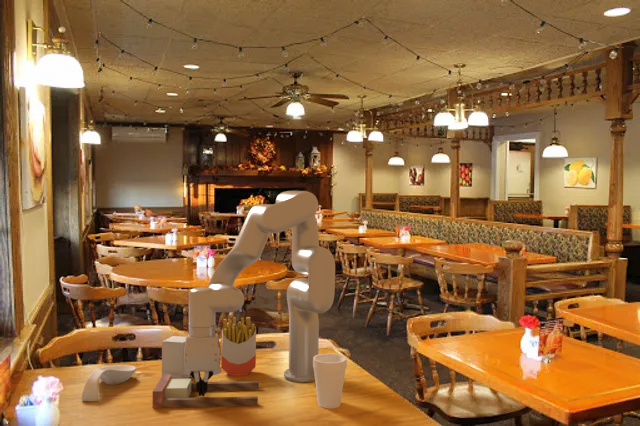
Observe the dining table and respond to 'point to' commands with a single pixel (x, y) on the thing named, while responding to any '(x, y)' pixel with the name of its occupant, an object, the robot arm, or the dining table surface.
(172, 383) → the block
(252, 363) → the french fries container
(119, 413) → the dining table surface
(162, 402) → the guide track
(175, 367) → the supplement box
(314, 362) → the foam cup
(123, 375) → the spoon rest
